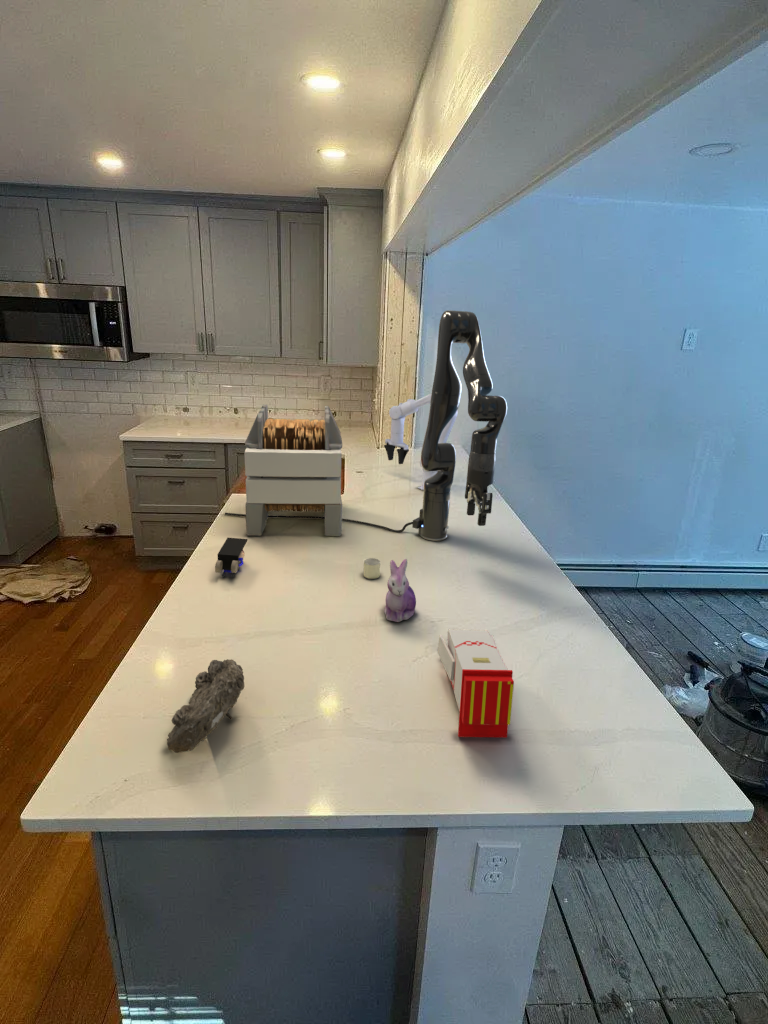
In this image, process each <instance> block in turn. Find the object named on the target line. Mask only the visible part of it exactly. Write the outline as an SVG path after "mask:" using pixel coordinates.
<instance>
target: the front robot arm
mask: <svg viewBox="0 0 768 1024" xmlns="http://www.w3.org/2000/svg"><path fill="white" fill-rule="evenodd" d="M439 319H440V320H439V324H438V334H437V335H438V338H437V350H436V352H437V353H436V361H435V362H436V363H435V370H434V376H433V383H432V386H431V387H432V388H431V393H432V394H431V393H430V394H431V403H430V404H429V413H428V418H427V425H426V429H425V434H424V438H423V442H422V446H421V452H420V460H421V464H422V467H423V469H424V470H425V471H438V472H437V473H436V474H435V475H434V476H432V477H430V478H428V479H427V480H425V482H424V490H423V493H422V496H423V497H422V506H421V508H420V509H419V516H418V517H416V518H414V519H413V520H412V521H409V522H407V523H406V524H404V525H403V527H402V528H401V529H393V528H391V527H387V526H384V525H379V524H376V523H370V522H366V521H361V520H356V519H348V518H342V522H348V523H353V524H360V525H366V526H370V527H374V528H379V529H382V530H386V531H389V532H393V533H403V532H404V531H405V530H406V528H407V527H408V526H412V528H413V529H416V530H417V535H418V536H420V538H421V539H424V540H426V541H432V542H440V541H444V540H446V539H447V538H448V529H449V527H450V526H449V517H450V516H449V514H450V504H451V494H452V493H451V491H452V486H453V484H454V477H455V470H456V463H457V451H456V449H455V448H456V447H455V446H454V445H453V444H452V443H450V442H446V443H438V442H439V439H440V436H441V433H442V431H443V429H444V428H445V427H446V425H447V424H448V423H449V421H450V420H451V419H452V417H453V416H454V415H455V413H456V412H457V410H458V411H459V408H460V403H461V397H462V392H463V391H462V390H463V387H462V382H461V379H460V377H459V375H458V373H457V370H456V368H455V366H454V363H453V359H452V344H467V346H468V354H467V356H466V358H465V359H464V360H465V361H464V363H463V366H462V375H463V380H464V382H465V386H466V389H467V414H468V416H469V418H470V419H471V420H472V421H474V422H478V423H479V422H481V423H482V422H483V423H484V422H486V423H487V424H486V425H485V426H484V427H482V428H481V427H480V428H478V429H475V430H474V431H472V434H471V441H470V452H469V454H468V462H467V471H466V483H465V491H464V499H465V500H466V503H467V506H466V515H467V516H474V515H475V513H476V512H475V511H476V507H477V508H478V509H477V511H478V514H477V525H478V526H479V527H483V526H484V527H485V526H486V525H487V515H489V514H490V515H491V514H492V509H493V508H492V506H493V498H494V497H493V492H489V491H488V490H489V489H488V487H489V486H491V485H493V484H494V480H495V479H494V478H495V470H496V461H497V459H496V458H497V457H496V456H497V455H496V454H497V446H498V445H497V444H498V443H497V442H498V438H499V435H500V432H501V429H502V427H503V424H504V421H505V419H506V416H507V414H508V404H507V400H506V399H505V398H504V396H502V395H489V394H490V393H491V392H492V391H493V387H494V386H493V385H494V384H493V380H492V378H491V375H490V372H489V369H488V366H487V363H486V359H485V353H484V346H483V340H482V338H483V337H482V333H481V327H480V322H479V319H478V316H477V315H476V314H475V312H473V311H466V310H451V309H449V310H447V309H446V310H445V311H443V313H442V314H441V316H440V318H439ZM224 515H225V516H231V517H233V516H234V517H242V518H243V517H245V518H246V513H245V514H244V513H234V512H224ZM268 519H314V520H315V519H316V520H324V516H317V515H282V514H281V515H279V514H278V515H277V514H274V515H273V514H272V515H271V514H268Z"/></svg>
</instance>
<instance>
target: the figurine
mask: <svg viewBox="0 0 768 1024" xmlns="http://www.w3.org/2000/svg"><path fill="white" fill-rule="evenodd" d="M407 567H408V559H406V558H404V559H403V560H402V561H401V563H400V565H399V566H398V565H397V563H396V562H395V561H394V560H393V559H391V560H390V561H389V570H390V576H389V578H388V579H387V589H388V591H387V592H386V594H385V595H386V596H385V607H384V615H385V616H386V620H387V621H391V622H395V623H400V622H402V621H406V620H409V619H410V618H411V617H413V616H414V615H415V610H416V606H417V597H416V593H415V591H414V590H413V587H411V586H410V582H409V579H408V577H407V574H406V571H407Z"/></svg>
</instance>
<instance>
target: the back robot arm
mask: <svg viewBox="0 0 768 1024" xmlns="http://www.w3.org/2000/svg"><path fill="white" fill-rule="evenodd" d="M431 394H432V392H431V393H429V394H426V395H425V396H423V397H421V398H419V399H417V400H416V399H414V398H412V399H411V398H408V399H406V401H405V402H399V403H398V405H393V406H391V407H390V408H389V412H388V415H389V417H390V418H391V419H390V420H391V422H390V438H385V439H384V445H383V447H384V450H385V451H386V456H387V460H388V461H393V460H394V456H395V449H396V452H397V458H398V459H397V460H398V465H403V464H404V463H405V459H406V456H407V454H408V453H409V451H410V449H409V446H410V445H409V444H407V443H405V442H404V432H405V431H404V430H405V421H406V417H408V416H410V415H412V414H415V413H417V412H418V411H419V409H420V408H421V407H425V406H427V405H430V403H431ZM458 411H459V409H458V410H457V412H456V413H455V415H454V416H453V417H452V419H451V420H450V421H449V423H448V424H447V425H446V427H445V428H444V429H443V431H442V433H441V436H440V439H439V442H438V443H447V441H448V439H449V437H450V434H451V433H452V429H453V427H454V425H455V423H456V420H457V418H458V414H459V413H458ZM396 447H397V448H396ZM419 465H420V468H421V471H422V473H421V485H420V486H419V485H418V486H417V487H416V488H417V489H419V490H421V491H424V482H425V480H427V479H428V478H430V477H432V476H434V475H435V474H436V473H437V472H438V471H425V470H424V469H423V467H422V464H421V459H420V461H419Z"/></svg>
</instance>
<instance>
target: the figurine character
mask: <svg viewBox="0 0 768 1024" xmlns="http://www.w3.org/2000/svg"><path fill="white" fill-rule="evenodd" d="M247 542H248V538H240V537H226V539H225V541H224V543H223V544H222V546H221V547H220V549H219V551H218V552H217V560H216V562H215V564H214V572H215V573H221V577H222V578H224V577H225V576H226V574H227V573H230V574H231V573H232V574H231V578H234V577H235V575H236V573H237V572H239V571H240V567H242V566H243V565H244V564H245V562H244V558H245V551H244V547H245V546H246V544H247Z"/></svg>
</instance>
